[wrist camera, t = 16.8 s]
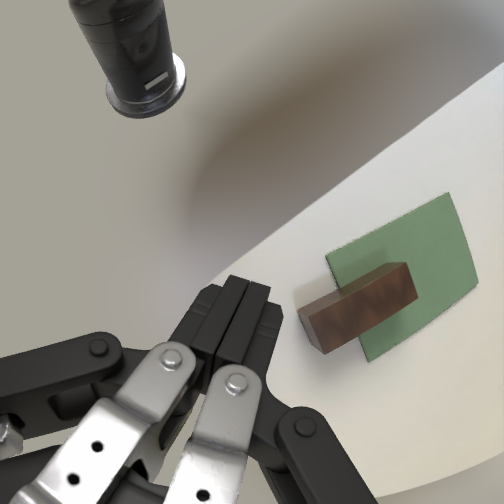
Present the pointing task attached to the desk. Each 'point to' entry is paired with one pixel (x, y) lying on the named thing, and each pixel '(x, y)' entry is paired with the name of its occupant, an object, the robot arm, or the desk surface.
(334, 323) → the walnut block
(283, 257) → the desk surface
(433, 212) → the mat
